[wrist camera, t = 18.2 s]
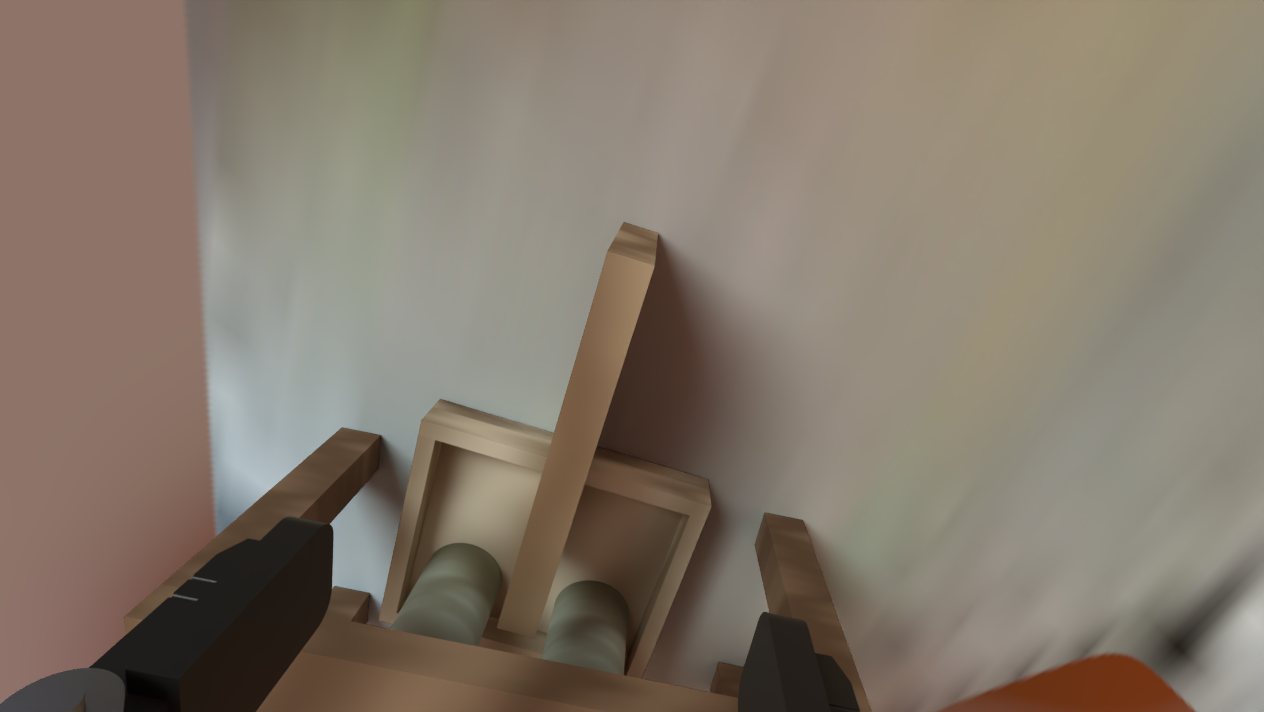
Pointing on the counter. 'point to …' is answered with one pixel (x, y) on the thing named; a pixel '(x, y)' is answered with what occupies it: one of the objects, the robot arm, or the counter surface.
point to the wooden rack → (470, 675)
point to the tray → (549, 514)
